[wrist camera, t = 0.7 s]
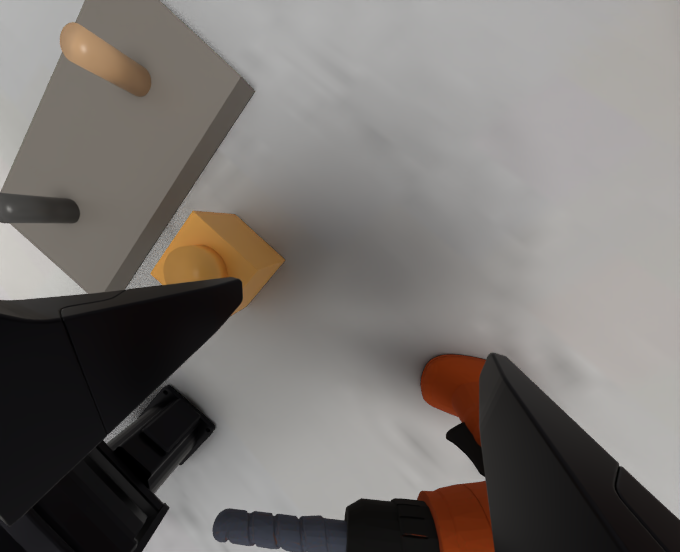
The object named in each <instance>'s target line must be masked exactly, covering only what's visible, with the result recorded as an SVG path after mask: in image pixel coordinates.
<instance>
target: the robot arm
mask: <svg viewBox="0 0 680 552" xmlns="http://www.w3.org/2000/svg"><path fill="white" fill-rule="evenodd" d="M242 300H243V288H242V281H241V280H240V279H237V278H234V277H226V278H217V279H209V280H201V281H193V282H184V283H176V284H168V285H159V286H151V287H143V288H135V289H128V290H118V291H109V292H100V293H91V294H81V295H71V296H60V297H48V298H37V299H26V300H0V552H142V551H143V549H144V548H145V546H146V544H147V543H148V541H149V540H150V538H151V537H152V535H153V533H154V532H155V530H156V529H157V527H158V525H159V524H160V522H161V521H162V519H163V517H164V516H165V514H166V513H167V511H168V510H169V507H168V506H167V505H166V503H164V504H163V503H162V502H161V501H160V500H159V498H158V497H157V496H156V495H155V494H154V493H155V492H156V491H157V490H158V489H159V487H160V486H161V485H162V484H163V483H164V481H165V480H166V479H167V478H168V477H169V476H170V474H171V473H172V472H173V471H174V470H175V468H176V467H177V466H178V465H182V464H183V463H184V462H185V461H186V460H187V459H188V458H189V457H190V456H191V455H192V454H193V453H194V452H195V451H196V450H197V449H198V448H199V446H200V445H201V444H202V443H203V442H204V441H205V440H206V439H207V438H208V437H209V436H210V435H211V434H212V433H213V431H214V430H215V426H214V424H213V423H211V422H210V421H209V420H208V419H207V418H206V417H205V416H204V415H202V414H201V413H200V412H199V411H198V410H197V409H196V408H195V407H193V406H192V405H191V404H190V403H189V402H188V401H187V400H186V399H185V398H183V397H182V396H181V395H180V394H179V393H178V392H177V391H176V390H174V389H173V388H172V387H171V386H169V385H167V386H165V387H164V388H162V389H161V391H160V392H159V393H158V394H157V396H156V397H155V398H154V399H153V400H152V402H151V403H150V404H149V405H148V407H147V408H146V409H145V410H144V411H143V413H142V414H141V415H140V416H139V418H138V419H137V420H136V421H134V422H133V423H132V424H131V425H129V426H128V427H127V428H125V429H124V430H123V431H122V432H120V433H119V434H118V435H117V436H115V437H114V438H113V439H112V440H110V441H109V442H108V443H107V444H106V443H105V442H104V441H103V439H104V438H105V437H106V436H107V434H109V433H110V432H111V431H112V430H114V429H115V428H116V427H117V426H118V425H119V424H120V423H121V422H122V421H123V420H124V419H125V418H126V417H127V416H128V415H129V414H130V413H131V412H132V411H134V410H135V409H136V408H137V407H138V406H139V405H140V404H141V403H142V402H143V401H144V400H145V399H146V398H147V397H148V396H149V395H150V394H151V393H153V392H154V391H155V390H156V389H157V388H158V387H159V386H160V385H161V384H162V383H163V382H164V381H165V380H166V379H167V378H168V377H169V376H170V375H171V374H173V373H174V372H175V371H176V370H177V369H178V368H179V367H180V366H181V365H182V364H183V363H184V362H185V361H186V360H187V359H188V358H189V357H190V356H192V355H193V354H194V353H195V352H196V351H197V350H198V349H199V348H200V347H201V346H202V345H203V344H204V343H205V342H206V341H207V340H208V339H209V338H211V337H212V336H213V335H214V334H215V333H216V332H217V331H218V329H219V328H220V327H221V326H222V325H223V324H224V323H225V322H226V320H227V319H228V318H229V317H230V316H231V315H232V314H233V312H234V311H235V310H236V309H237V308H238V307H239V306H240V304H241V303H242ZM479 429H480V439H481V447H482V455H483V463H484V471H485V479H486V487H487V495H488V503H489V511H490V518H491V526H492V534H493V542H494V550H495V552H680V520H679V519H678V518H677V517H676V516H675V515H674V514H673V513H671V512H670V511H669V510H668V509H667V508H666V507H665V506H664V505H663V504H662V503H661V502H660V501H658V500H657V499H656V498H655V497H654V496H653V495H652V494H651V493H650V492H649V491H648V490H647V489H646V488H644V487H643V486H642V485H641V484H640V483H639V482H638V481H637V480H636V479H635V478H634V477H633V476H632V475H631V474H630V473H629V472H628V471H627V470H625V469H624V468H623V467H621V466H619V463H618V462H617V461H616V460H615V459H614V458H613V457H612V456H611V455H610V454H608V453H607V452H606V451H605V450H604V449H603V448H602V447H601V446H600V445H599V444H598V443H597V442H596V441H595V440H594V439H593V438H592V437H591V436H589V435H588V434H587V433H586V432H585V431H584V430H583V429H582V428H581V427H580V426H579V425H578V424H577V423H576V422H575V421H574V420H573V419H572V418H570V417H569V416H568V415H567V414H566V413H565V412H564V411H563V410H562V409H561V408H560V407H559V406H558V405H557V404H556V403H555V402H554V401H553V400H551V399H550V398H549V397H548V396H547V395H546V394H545V393H544V392H543V391H542V390H541V389H540V388H539V387H538V386H537V385H536V384H535V383H534V382H532V381H531V380H530V379H529V378H528V377H527V376H526V375H525V374H524V373H523V372H522V371H521V370H520V369H519V368H518V367H517V366H516V365H515V364H513V363H512V362H511V361H510V360H509V359H508V358H507V357H506V356H503V355H499V354H496V353H490V354H489V355H488V357H487V359H486V362H485V364H484V366H483V369H482V371H481V373H480V377H479Z"/></svg>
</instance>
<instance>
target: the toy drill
mask: <svg viewBox="0 0 680 552" xmlns="http://www.w3.org/2000/svg"><path fill="white" fill-rule="evenodd" d="M485 362H486V360H484V359H481V358H476V357H471V356H464V355H454V354H449V355H441V356H437V357H435V358H433V359H431V360H430V361H429V362H428V363H427V364H426V366H425V368H424V370H423V374H422V377H421V391H422V396H423V399H424V400H425V401H426V402H427V403H428V404H429V405H431V406H433V407H435V408H437V409H440V410H442V411H444V412H447V413H449V414H452V415H455V416H457V417H459V418H460V420H461V422H462V423H461V424H459V425H457V426H455V427H454V428H452V429H450V430H449V431H448V432H447V434H446V439H447V440H449V441H450V442H452V443H454V444H455V445H456V446H457V447H458V448H459V449H461V450H462V451H463V452H464V453H465V454H466V455H467V456H468V457H469V459H470V460H471V461H472V462H473V464H474V465H475V467H476V468H477V470H478V471H479V473H480V474H481V475H483V476H484V477H485V471H484V463H483V455H482V447H481V439H480V429H479V377H480V373H481V371H482V369H483V366H484V364H485ZM213 536H214V538H215V540H217V541H219V542H226V541H227V540H229V541H230V542H231V543H233V544H239V545H246V546H253V545H254V544H256V546H258V547H263V548H269V549H279V548H280V547H282V549H284V550H286V551H290V552H495V550H494V542H493V534H492V526H491V518H490V511H489V503H488V495H487V487H486V481H482V482H476V483H467V484H457V485H452V486H448V487H443V488H439V489H437V490H435V491H421V492H420V494H419V496H418V498H417V500H410V499H396V498H395V499H393V500H391V502H390V501H380V500H371V499H362V498H361V499H360V500H358V501H356V502H354V503H353V504H351V505H349V506H347V507H346V512H345V520H344V521H343V520H335V519H327V518H323V517H322V516H302V517H300V518H299V519H297V517H296V516H291V515H283V514H276V516H273V515H272V513H266V512H257V511H254V512H252V513H247V511H245V510H237V509H225V510H223V511H222V512H220V513H219V515H218V516H217V517H216V519H215V522H214V525H213Z"/></svg>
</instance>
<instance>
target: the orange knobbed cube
mask: <svg viewBox="0 0 680 552" xmlns="http://www.w3.org/2000/svg"><path fill="white" fill-rule="evenodd" d="M284 261H285V259H284V258H283V257H281V256H280V255H279V254H278V253H277V252H276V251H275V250H274V249H273V248H272V247H270V246H269V245H268V244H267V243H266V242H265V241H264V240H263V239H262V238H261V237H260V236H258V235H257V234H256V233H255V232H254V231H253V230H252V229H251V228H250V227H249V226H247V225H246V224H245V223H244V222H243V221H242V220H241V219H240V218H239V217H238V216H237V215H235V214H227V213H214V212H201V211H192V213H191V214H190V216H189V217H188V219H187V220H186V222H185V223H184V225H183V226H182V228H181V229H180V231H179V232H178V233H177V235H176V236H175V238H174V239H173V241H172V242H171V244H170V245H169V247H168V248H167V250H166V251H165V253H164V254H163V256H162V257H161V259H160V260H159V261H158V263H157V264H156V266H155V267H154V269H153V270H152V272H151V273H150V274H151V275H152V276H153V277H154V278H156V279H157V280H158V281H159V282H160V283H161V284H162V285H168V284H176V283H184V282H193V281H201V280H209V279H217V278H226V277H234V278H237V279H240V280H241V281H242V288H243V300H242V303H241V304H240V306H239V307H238V308H237V309H236V310H235V311H234V312H233V314H235V313H237V312H238V311H240V310H242V309H243V308H245V307H247V305H248V304H249V303H250V302H251V301H252V299H253V298H254V297H255V296H256V295H257V293H258V292H259V291H260V290H261V289H262V288H263V286H264V285H265V284H266V283H267V282H268V280H269V279H270V278H271V277H272V276H273V274H274V273H275V272H276V271H277V270H278V268H279V267H280V266H281V265H282V264H283V262H284ZM233 314H232V315H233ZM232 315H231V316H232Z"/></svg>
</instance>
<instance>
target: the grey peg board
mask: <svg viewBox="0 0 680 552" xmlns="http://www.w3.org/2000/svg"><path fill="white" fill-rule="evenodd" d="M60 46H61V49H62V54H61V56H60V58H59V61H58V63H57V65H56V67H55V70H54V72H53V74H52V76H51V79H50V81H49V83H48V85H47V88H46V90H45V92H44V95H43V97H42V99H41V101H40V104H39V106H38V108H37V110H36V113H35V115H34V117H33V120H32V122H31V124H30V126H29V129H28V131H27V133H26V135H25V138H24V140H23V142H22V144H21V147H20V149H19V151H18V154H17V156H16V158H15V160H14V163H13V165H12V167H11V169H10V172H9V174H8V176H7V178H6V181H5V183H4V185H3V188H2V190H1V192H0V222H1V223H10V224H11V225H12V226H13V227H14V228H15V229H17V230H18V231H19V232H20V233H21V234H22V235H23V236H24V237H26V238H27V239H28V240H29V241H30V242H31V243H32V244H33V245H34V246H36V247H37V248H38V249H39V250H40V251H41V252H42V253H43V254H45V255H46V256H47V257H48V258H49V259H50V260H51V261H52V262H54V263H55V264H56V265H57V266H58V267H59V268H60V269H61V270H62V271H64V272H65V273H66V274H67V275H68V276H69V277H70V278H71V279H73V280H74V281H75V282H76V283H77V284H78V285H79V286H80V287H81V288H83V289H84V290H85V291H86V292H87V293H88V294H91V293H100V292H109V291H118V290H124V289H125V288H126V286H127V285H128V283H129V282H130V280H131V279H132V277H133V276H134V274H135V273H136V271H137V270H138V268H139V266H140V265H141V263H142V262H143V260H144V259H145V257H146V256H147V254H148V253H149V251H150V250H151V248H152V247H153V245H154V244H155V242H156V241H157V239H158V238H159V236H160V235H161V233H162V232H163V230H164V229H165V227H166V226H167V224H168V222H169V221H170V219H171V218H172V216H173V215H174V213H175V212H176V210H177V209H178V207H179V206H180V204H181V203H182V201H183V200H184V198H185V197H186V195H187V194H188V192H189V191H190V189H191V188H192V186H193V185H194V183H195V182H196V180H197V178H198V177H199V175H200V174H201V172H202V171H203V169H204V168H205V166H206V165H207V163H208V162H209V160H210V159H211V157H212V156H213V154H214V153H215V151H216V150H217V148H218V147H219V145H220V144H221V142H222V141H223V139H224V138H225V136H226V134H227V133H228V131H229V130H230V128H231V127H232V125H233V124H234V122H235V121H236V119H237V118H238V116H239V115H240V113H241V112H242V110H243V109H244V107H245V106H246V104H247V103H248V101H249V100H250V98H251V97H252V95H253V94H254V92H255V91H254V90H253V88H252V87H251V86H250V85H249V84H248V83H247V82H246V81H245V80H244V79H243V78H242V77H241V76H240V75H239V74H238V73H237V72H236V71H235V70H234V69H233V68H232V67H231V66H229V65H228V64H227V63H226V62H225V61H224V60H223V59H222V58H221V57H220V56H219V55H218V54H217V53H215V52H214V51H213V50H212V49H211V48H210V47H209V46H208V45H207V44H206V43H205V42H204V41H203V40H201V39H200V38H199V37H198V36H197V35H196V34H195V33H194V32H193V31H192V30H191V29H190V28H189V27H187V26H186V25H185V24H184V23H183V22H182V21H181V20H180V19H179V18H178V17H177V16H176V15H174V14H173V13H172V12H171V11H170V10H169V9H168V8H167V7H166V6H165V5H164V4H163V3H162V2H160V1H159V0H85V2H84V4H83V6H82V8H81V11H80V13H79V15H78V17H77V20H76V22H75V23H74V22H72V23H68V24H67V25H65V27H64V28H63V29H62V32H61V35H60Z"/></svg>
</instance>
